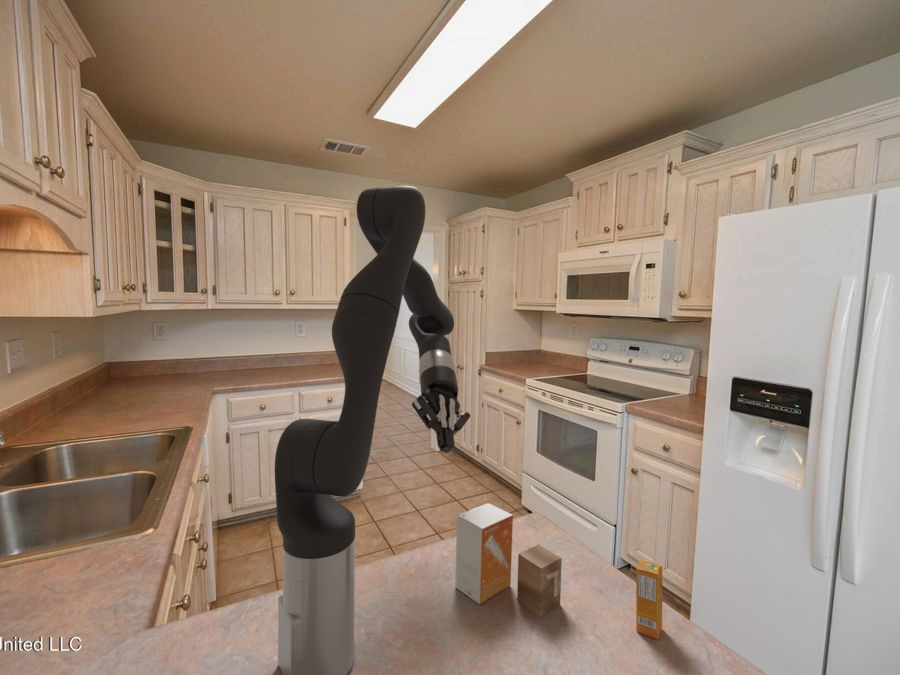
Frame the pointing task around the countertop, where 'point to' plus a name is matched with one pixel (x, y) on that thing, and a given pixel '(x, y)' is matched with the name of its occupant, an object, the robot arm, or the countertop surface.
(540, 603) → the walnut digit block
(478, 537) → the small box
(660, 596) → the supplement box
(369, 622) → the countertop surface
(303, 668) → the robot arm
